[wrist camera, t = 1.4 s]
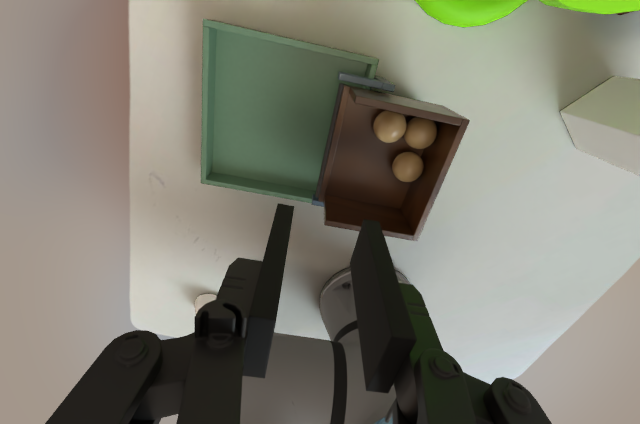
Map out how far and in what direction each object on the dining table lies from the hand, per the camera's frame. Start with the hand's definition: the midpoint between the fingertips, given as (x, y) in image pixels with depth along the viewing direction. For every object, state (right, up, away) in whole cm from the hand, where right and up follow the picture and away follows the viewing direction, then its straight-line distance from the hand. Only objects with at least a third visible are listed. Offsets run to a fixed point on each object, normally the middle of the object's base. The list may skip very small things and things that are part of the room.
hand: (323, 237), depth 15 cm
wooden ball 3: (+9, +6, +16) cm, 19 cm away
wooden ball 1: (+6, +9, +14) cm, 18 cm away
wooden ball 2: (+9, +9, +14) cm, 19 cm away
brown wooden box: (+6, +7, +17) cm, 20 cm away
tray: (-4, +12, +21) cm, 25 cm away
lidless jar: (-18, -14, +36) cm, 43 cm away
